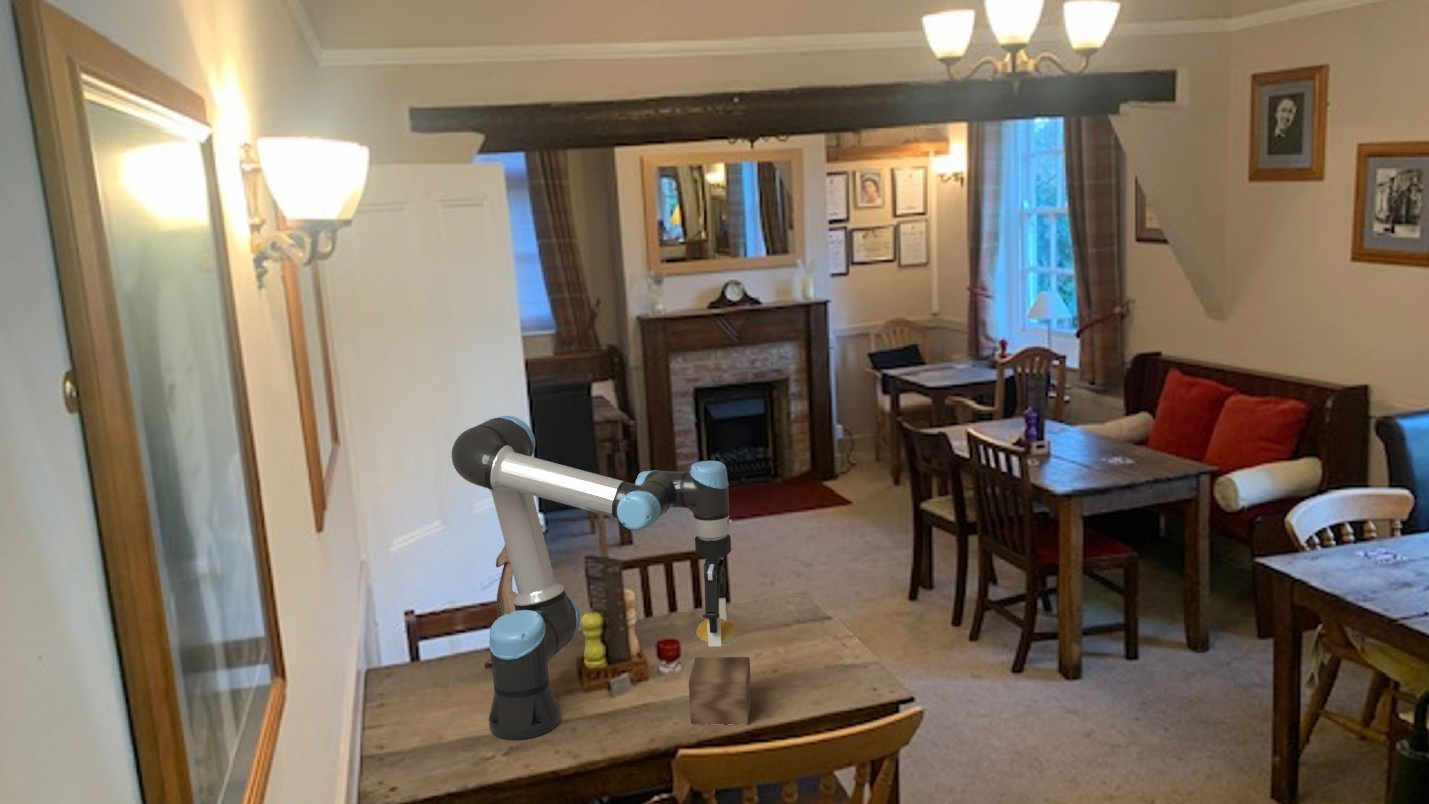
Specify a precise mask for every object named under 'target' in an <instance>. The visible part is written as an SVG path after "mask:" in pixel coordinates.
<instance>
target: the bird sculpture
mask: <svg viewBox="0 0 1429 804" xmlns="http://www.w3.org/2000/svg"><path fill="white" fill-rule="evenodd" d="M502 566H503V567H502ZM495 567H496V568H500V567H502V571H501V575H500V579H499V582H498V583H499V584H498V587H497V594H496V618H497V619H498V618H500V617H501V616H503V615H505V614H510V613H511V612H514V611H516V610H515V606H514V602H513V601H514V599H515V597H516V595H517V594H518V592H516V591H514V590H513V578H514V575H513V572H512V568H511V564H510V560H509V556H508V553H507V549H506V545H505V544H504V546H503V547H502V550H501V552H500V553H499V554H498V555H497V558H496V561H495ZM497 619H496V620H497ZM489 667H492V661H491V659H489V660H487V661H485V662H484V669H487V668H489Z"/></svg>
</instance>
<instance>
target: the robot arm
mask: <svg viewBox="0 0 1429 804" xmlns="http://www.w3.org/2000/svg"><path fill="white" fill-rule="evenodd" d="M535 448H536V439H535V435H534V432H533V431H532V429H531V428H530V426H529V425H528V424H527V423H526V422H525V421H523V420H522V419H519V418H518V417H515V416H511V415H501V416H497V417H493V418H490V419H488V420H486V421H484V422H482V423H480V424H478V425H476V426H475V425H474V426H473V427H470V428H468V429H466V430H464V431H463V432H462V433H460V435H459V436H458V437H457V438H456V439H455V441H454V443H453V446H452V450H451V461H452V464H453V467H454V469H455V471H456V473H457V474H458V475H459V476H460V477H461V478H462V479H464V480H465V481H467V482H468V483H470V484H472V485H475V486H479V487H481V488H485V489H488V490H489V491H490V493H491V496H492V498H493V503H494V506H495V511H496V514H497V518H498V522H499V526H500V529H501V533H502V537H503V541H504V546H505V545H506V549H507V553H508V556H509V560H510V564H511V568H512V572H513V578H514V583H515V587H516V591H517V595H516V597H515V599H514V601H513V602H514V606H515V610H516V611H514V612H511V613H510V614H505V615H503V616H501V617H500V618H498V619H496V620H495V621H493V623H492V625H491V626H490V630H489V641H488V644H489V645H488V646H489V649H490V660H491V661H492V666H491V669H492V677H493V680H492V681H493V689H494V690H493V692H494V695H493V698H492V703H491V706H490V710H489V714H488V726H489V727H488V728H489V731H490V732H491V733H492V734H493V736H495V737H498V738H501V739H505V740H512V741H513V740H515V741H516V740H526V739H532V738H537V737H540V736H542V735H543V736H544V735H545V734H547V733H549V732H550V731H553V730H554V729H555V728H557V726H559V723H560V722H561V710H560V706H559V703H558V701H557V699H556V696H555V694H554V692H553V690H552V687H551V686H550V685H551V684H550V678H549V677H550V676H549V664H548V663H549V661H550V660H551V659H552V658H553V657H554V656H555V655H556V654H557V653H559V652H560V651H561V650H562V648H563V647H566V646H567V645H568V644H569V643H570V642H571V641H572V639H573V638H574V636H575V635H576V633H577V632H578V630H579V628H580V624H581V613H580V608H579V607H578V603H577V601H575V599H574V598H571V596H570V595H569V594H567V593H566V590H565V589H566V588H565V587H564V585H563V584H560V583H558V581H556V579H555V575H554V571H553V566H552V563H551V559H550V556H549V552H548V548H547V545H546V544H547V543H546V540H545V536H544V531H543V528H542V525H541V521H540V517H539V513H538V511H537V510H538V509H537V505H536V502H535V497H537V498H541V499H545V500H549V501H553V502H556V503H560V504H563V505H567V506H571V507H574V508H578V509H582V510H586V511H590V512H593V513H597V514H600V515H604V516H608V517H611V518H615V519H618V521H619V522H620V523H621V525H623V527H625V528H627V529H628V530H630V531H636V532H637V531H638V532H639V531H643V530H645V529H646V528H649V527H651V526H652V525H654V524H655V523H656V522H657V521H658V520H659V518H660V517H662V515H664V514H665V513H666V512H668V511H669V510H670V509H671V508H680V509H681V508H687V509H689V508H692V511H693V512H692V513H693V514H692V515H693V516H692V517H693V533H694V535H695V538H694V547H695V553H696V555H697V556H699V557H701V558H705V563H703V577H704V578H703V579H704V612H705V613H704V614H702V618H704V619H707V630H708V643H707V644H708V646H707V647H722V642H721V623H720V618H721V619H723V620H725V621H726V622H728V617H727V616H728V615H727V599H726V598H729V597H730V592H729V591H727V589H728V588H727V583H726V570H725V569H726V568H725V563H726V562H725V559H724V558H725V556H728V555H730V554H731V551H732V541H731V540H732V538H731V535H730V533H731V526H730V525H732V524H733V519H729V518H730V502H729V500H730V499H729V497H730V496H729V479H728V471H727V467H726V465H725V464H724V463H723V462H721V461H718V460H705V461H704V460H703V461H702V460H701V461H697V462H694V463H693V464H691V467H690V470H689V471H673V470H672V471H668V470H657V469H654V470H645V471H641V472H640V473H639V474H638V475H637V478H636V480H635V483H632V482H628V481H624V480H620V479H617V478H613V477H609V476H606V475H603V474H602V475H601V474H597V473H595V472H590V471H586V470H582V469H580V468H575V467H572V466H567V465H564V464H559V463H555V462H552V461H548V460H545V459H541V458H538V457H534V456H533V454H534V451H535Z"/></svg>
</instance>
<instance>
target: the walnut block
mask: <svg viewBox="0 0 1429 804" xmlns="http://www.w3.org/2000/svg"><path fill="white" fill-rule="evenodd" d="M692 664H693V665H692V668H691V672H690V674H689V679H688V693H689V695H688V696H689V697H688V698H689V712H690V714H689V715H690V725H691V724H693V725H692V726H697V725H696V724H700V725H699V726H712V725H711V724H724V725H723V726H729V725H728V724H734V725H733V726H741V725H740V724H744V725H743V726H748V725H749V720H750V719H749V718H750V713H749V711H750V710H751V706H750V705H752V684H751V683H752V682H751V680H752V679H751V658H750V657H749V656H737V657H736V656H735V657H733V656H731V657H729V656H726V657H724V656H717V657H714V656H713V657H711V656H710V657H709V656H705V657H703V656H701V657H696V656H695V657H694V661H693V663H692ZM750 712H751V711H750ZM748 719H749V720H748ZM705 724H707V725H705Z"/></svg>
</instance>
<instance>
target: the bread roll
mask: <svg viewBox="0 0 1429 804" xmlns="http://www.w3.org/2000/svg"><path fill="white" fill-rule="evenodd" d="M720 623H721V642H722V645H727V644H728V645H729V644H731V643H732V642H735V641H736V640H737V638H738V635H739V629H738V627H737V625H736V624H735V623H733V622H730V621H727V622H726V621H725V620H723V619H721V618H720ZM695 631H696V636H697V637H698V639H699V640H701V641H702V642H706V644H708V630H707V618H704V620H703V621H701V622H700V623H699V624H698V626H697V628H696V630H695Z"/></svg>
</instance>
